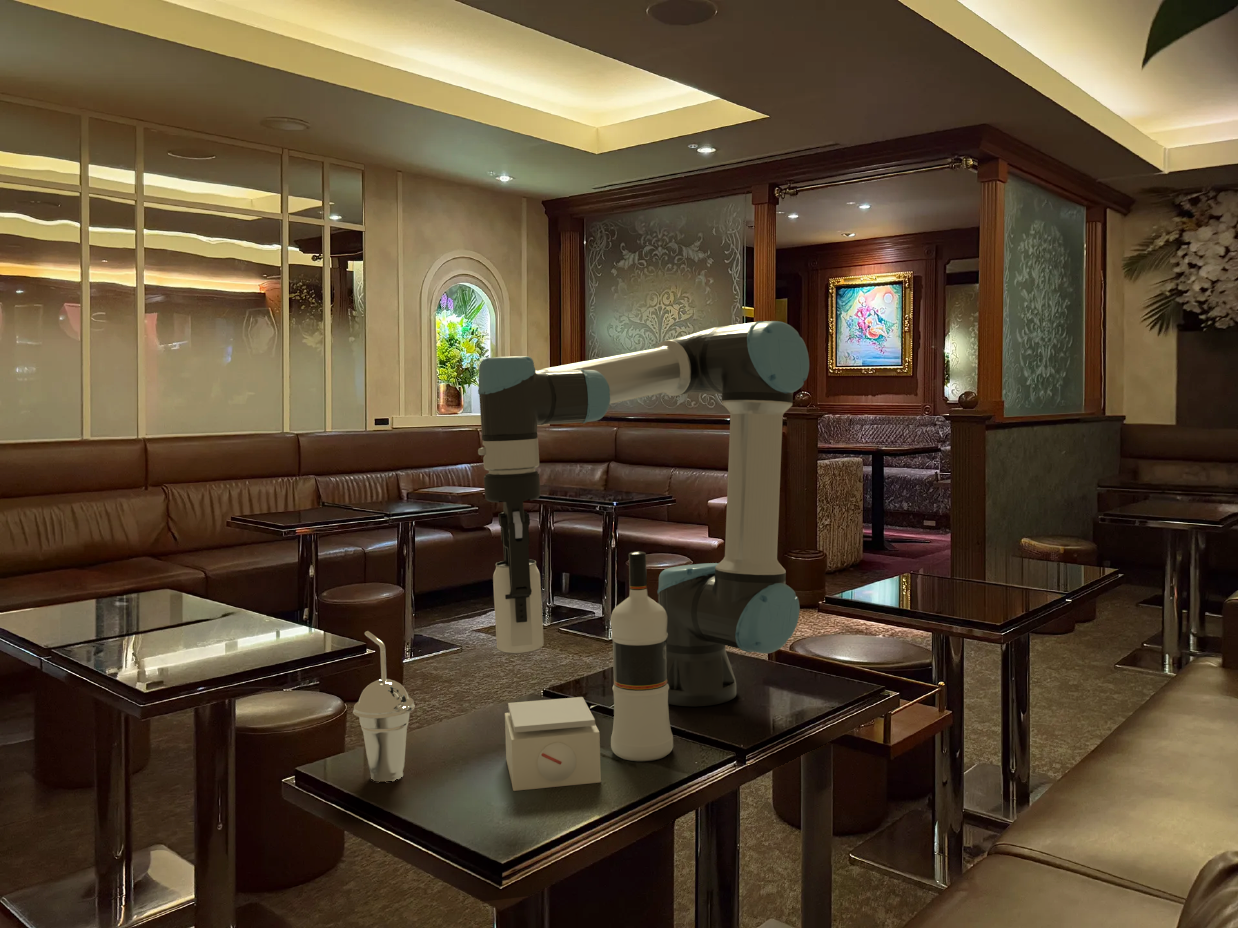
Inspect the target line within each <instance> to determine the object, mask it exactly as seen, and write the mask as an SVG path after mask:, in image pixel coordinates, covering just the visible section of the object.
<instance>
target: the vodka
mask: <svg viewBox="0 0 1238 928" xmlns="http://www.w3.org/2000/svg"><path fill="white" fill-rule="evenodd" d="M646 557H647V553H646V552H644V551H637V550H636V551H631V552H629V553H628V574H629V575H628V580H629V582H628V584H629V586H628V587H629V595H628V597H627V598H625V599H624V600H623V601H621V602H620V603H619V604H617V605H616V606H615V607H614V608H613V610H612V612H611V615H610V627H611V640H612V659H613V660H612V661H613V669H612V670H613V686H612V691H613V703H614V706H613V707H614V709H613V715H614V716H613V726H612V732H611V733H612V734H611V736H610V749H611V750H612V753H614V755H615V756H617V757H618V758H620V759H623V760H626V761H631V762H638V763H639V762H652V761H656V760H660V759H663V758H665V757H666V756H667V755H669V754H670V753H671V752H672V750H673V748H674V736H673V732H672V729H671V728H672V727H671V722H670V713H669V710H670V709H669V704H668V690H669V685H668V684H667V683H668V679H667V636H668V633H667V614H666V611H665V609H664V608H663V607H662V606H661V605H660V604H658V601H657V602H656V600H654V599H652V598H651V597H650V596H649V595H648V585H647V579H648V578H647V558H646Z"/></svg>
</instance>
